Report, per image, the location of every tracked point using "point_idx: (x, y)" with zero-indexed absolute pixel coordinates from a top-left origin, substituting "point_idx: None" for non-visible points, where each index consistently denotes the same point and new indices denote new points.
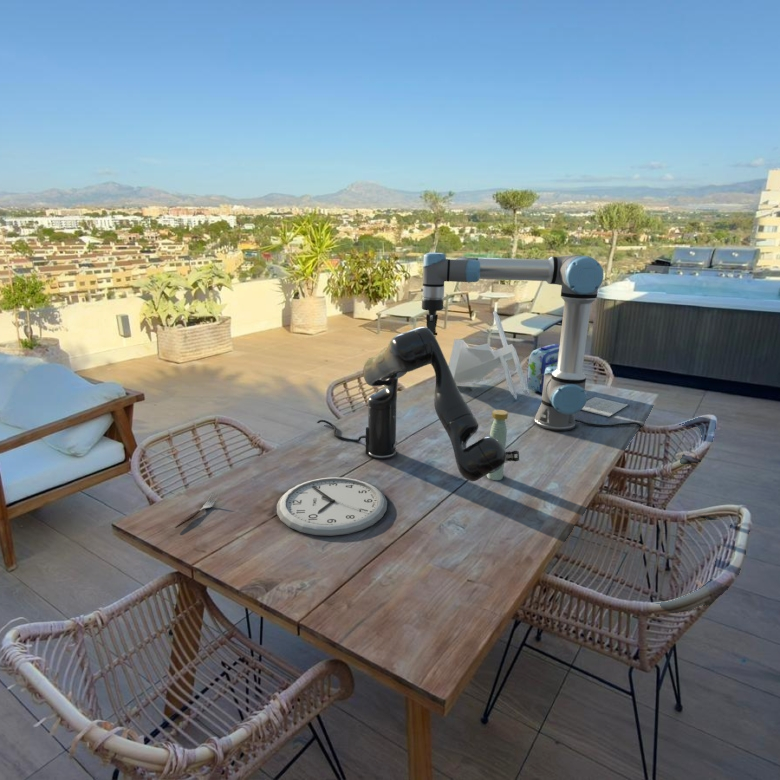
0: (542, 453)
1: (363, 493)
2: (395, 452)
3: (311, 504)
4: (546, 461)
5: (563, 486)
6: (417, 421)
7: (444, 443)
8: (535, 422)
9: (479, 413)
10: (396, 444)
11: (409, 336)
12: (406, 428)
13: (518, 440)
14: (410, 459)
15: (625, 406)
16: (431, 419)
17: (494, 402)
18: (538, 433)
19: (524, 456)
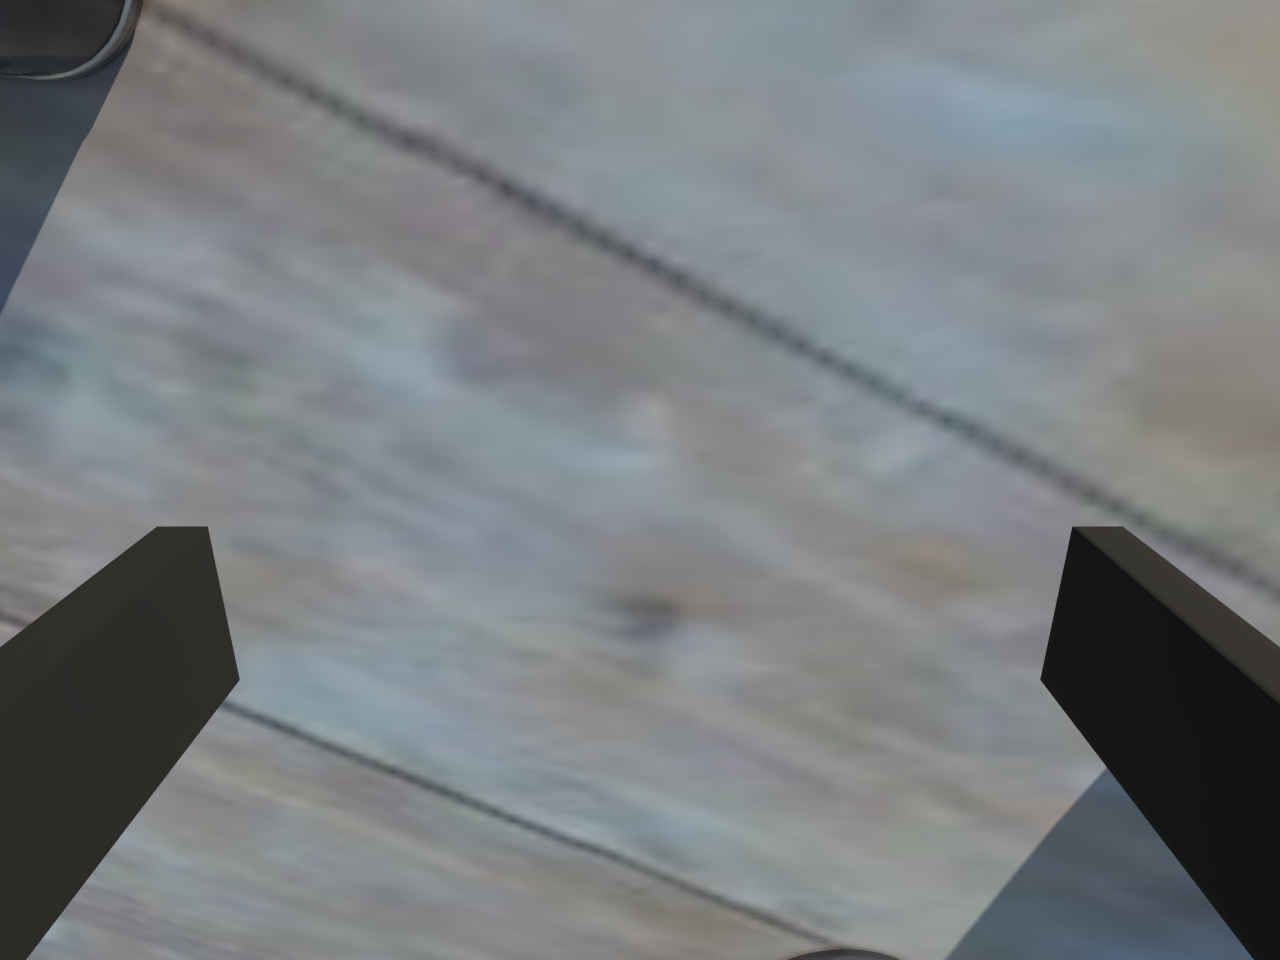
0: (392, 928)
1: None
2: (35, 79)
3: None
4: (294, 932)
5: (37, 956)
6: (811, 207)
7: (387, 438)
8: (827, 957)
9: (1018, 671)
10: (10, 79)
11: None
12: (630, 119)
13: (548, 847)
14: (24, 210)
15: None
16: (869, 326)
17: None
18: (678, 944)
19: (324, 852)
